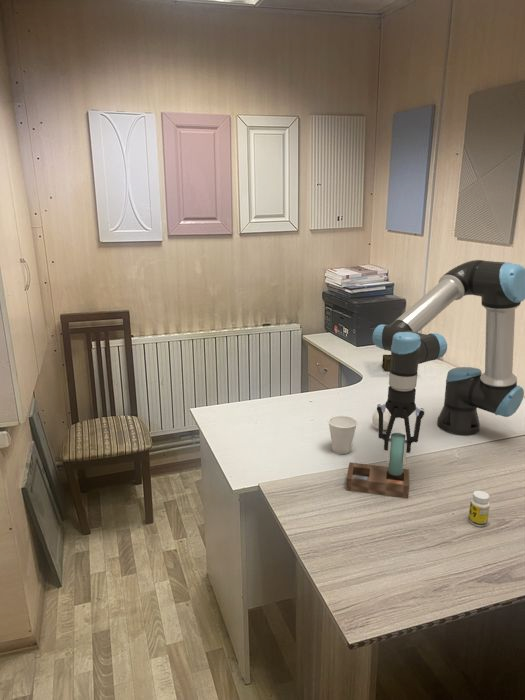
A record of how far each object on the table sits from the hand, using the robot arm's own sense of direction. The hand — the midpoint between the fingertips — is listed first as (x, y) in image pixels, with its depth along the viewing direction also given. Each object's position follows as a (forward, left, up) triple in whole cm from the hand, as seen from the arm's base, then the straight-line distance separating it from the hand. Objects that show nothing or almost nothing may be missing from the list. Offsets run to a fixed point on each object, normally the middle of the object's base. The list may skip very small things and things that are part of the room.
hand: (396, 460), depth 153 cm
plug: (0, 0, -4) cm, 4 cm away
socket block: (+5, 0, -9) cm, 10 cm away
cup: (+18, -20, -9) cm, 29 cm away
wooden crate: (+3, -114, -10) cm, 115 cm away
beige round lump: (+5, -41, -9) cm, 42 cm away
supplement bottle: (-22, +12, -9) cm, 27 cm away
